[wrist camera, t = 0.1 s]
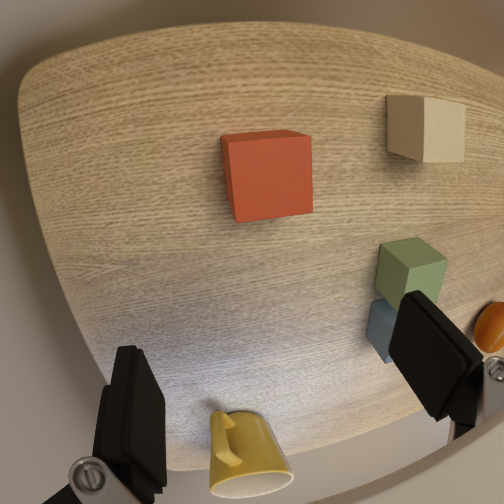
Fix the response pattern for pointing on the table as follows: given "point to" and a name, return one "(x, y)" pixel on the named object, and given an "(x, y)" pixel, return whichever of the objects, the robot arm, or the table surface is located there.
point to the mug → (245, 456)
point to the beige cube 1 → (426, 128)
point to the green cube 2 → (409, 270)
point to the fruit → (490, 328)
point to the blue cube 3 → (381, 327)
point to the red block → (268, 174)
